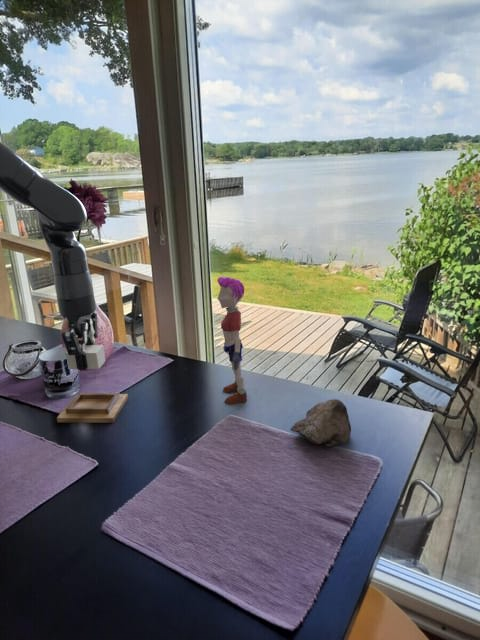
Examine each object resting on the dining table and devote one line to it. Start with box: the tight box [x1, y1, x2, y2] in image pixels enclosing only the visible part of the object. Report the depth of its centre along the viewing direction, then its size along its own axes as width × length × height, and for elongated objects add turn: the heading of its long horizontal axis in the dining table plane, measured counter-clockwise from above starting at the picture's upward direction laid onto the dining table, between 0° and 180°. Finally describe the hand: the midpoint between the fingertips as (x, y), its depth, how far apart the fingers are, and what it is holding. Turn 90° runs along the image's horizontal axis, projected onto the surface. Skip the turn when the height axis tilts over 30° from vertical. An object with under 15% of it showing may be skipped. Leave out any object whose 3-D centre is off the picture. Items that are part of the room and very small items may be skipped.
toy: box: [217, 276, 248, 405], centre depth 104 cm, size 16×6×30 cm, turn 6°
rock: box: [290, 399, 352, 448], centre depth 90 cm, size 13×12×10 cm
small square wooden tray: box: [56, 392, 129, 424], centre depth 104 cm, size 13×11×2 cm
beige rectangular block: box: [65, 344, 107, 370], centre depth 100 cm, size 7×4×4 cm, turn 87°
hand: (87, 363), depth 100 cm, fingers closed on beige rectangular block, 4 cm apart
